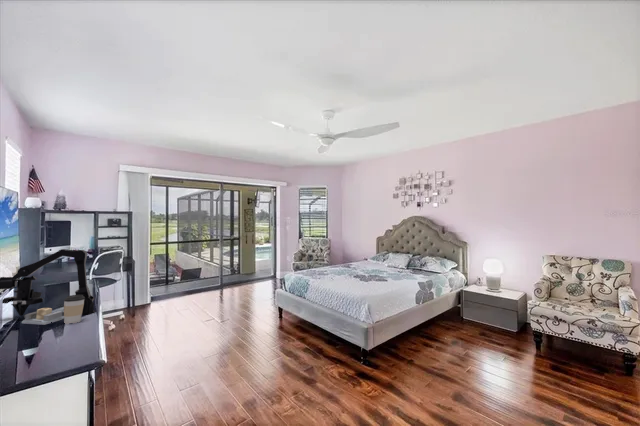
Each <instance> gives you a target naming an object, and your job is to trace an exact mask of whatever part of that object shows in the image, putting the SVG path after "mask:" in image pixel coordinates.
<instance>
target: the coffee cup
mask: <svg viewBox="0 0 640 426" xmlns="http://www.w3.org/2000/svg"><path fill="white" fill-rule="evenodd" d="M84 299H85V297H84V296H83V295H76V294H72V295H68V296H66V298H64V299H63V303H64V304H63V316H64V319H63V322H64V323H65V324H64V325H70V324H69V323H73V324H77V322H78V323H80V322H81V320H82V315H83V314H82V311H83V306H84Z"/></svg>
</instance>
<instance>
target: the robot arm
mask: <svg viewBox="0 0 640 426" xmlns="http://www.w3.org/2000/svg"><path fill="white" fill-rule="evenodd" d="M62 257H67V258H73V261H74V262H75V265H76V270H77V280H78V289H77V290H75V291H74V293H75V294H74V295H83V296H84V297H85V299H84V306H83V311H82V315H89V314H93V313H95V312H96V310H94V308H95V302H94V300H95V297H94V296H93V295H92V293H91V291H90V289H89V286H88V280H87V279H88V278H87V269H86V267H87V266H86V262H87V257H88V252H87V251H86V250H85V249H79V250H74V249H73V250H72V249H66V248H63V249H59V250H58V251H56V252H54V253H52V254H50V255H48V256H46V257H45V258H42V259H40V260H38V261H36V262H33V263H29V264H26V265H24V266H22V267H19V268H18V269H17V271H16V274H14V275H13V276H2V277H0V290H12V289H15V288H16V290H14V291H13V292H14V293H15V294H16V295H15V296H14V295H13V296H9V297H4V298H3V299H2V300H1V301H2V302H1V303H2V304H9V303H10V302H12V303H11V306H12V307H13V308H14V309H15V310H16V313H17V314H18V315H19V317H24V315H25V314H26V313H25V312H26V311H27V309H28V307H29V306H31V305H37V304H40V303H43V301H44V298H43V297H41V296H42V294H43V292H39V291H35V289H34V288H32V283H33V281H36V280H38V277H36V276H35V275H33V274H34V273H36V272H37V271H38V270H40V269H41V268H42V267H44V266H46V265H48V264H50V263H52V262H54V261H55V260H58V259H60V258H62Z"/></svg>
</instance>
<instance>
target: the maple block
mask: <svg viewBox="0 0 640 426" xmlns="http://www.w3.org/2000/svg"><path fill="white" fill-rule="evenodd" d="M36 312H37V316H36V319H37V320H44V315H47V314H51V313H53V308H51V307H42V308H39V309H38V308H37V310H36Z"/></svg>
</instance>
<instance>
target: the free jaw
mask: <svg viewBox="0 0 640 426" xmlns="http://www.w3.org/2000/svg"><path fill="white" fill-rule="evenodd" d="M36 316H37V311H33V312H29V313H27V314H26V313H24V314H23V318H24V320H32V319H35V318H36Z"/></svg>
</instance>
